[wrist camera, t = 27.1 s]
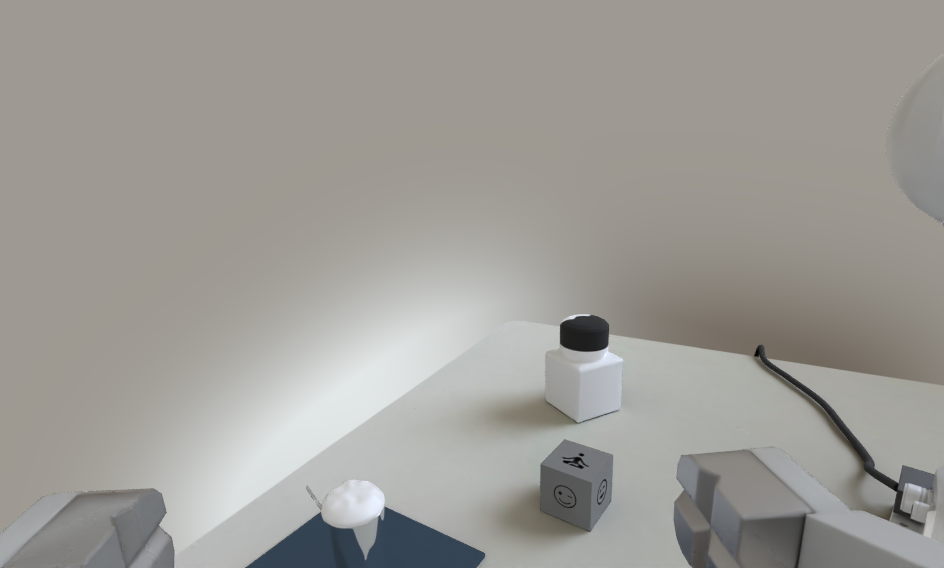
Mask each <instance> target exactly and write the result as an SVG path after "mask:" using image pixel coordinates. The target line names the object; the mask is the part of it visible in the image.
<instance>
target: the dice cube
mask: <svg viewBox="0 0 944 568" xmlns="http://www.w3.org/2000/svg"><path fill="white" fill-rule="evenodd" d="M612 472H613V455H612V454H609V453H606V452H603V451H599V450H596V449H593V448H590V447H587V446H584V445H581V444H578V443H575V442H572V441H568V440H565V439H564V441H563V442H562V443H561V444H560V445H559V446H558V447H557V448H556V449H555V450H554V451H553V452H552V453H551V454H550V455H549V456H548V457H547V458H546V459H545V460H544V461H543V462H542V463H541V481H540V511H542V512H545V513H547V514H550V515H552V516H554V517H557V518H559V519H562V520H564V521H566V522H569V523H571V524H573V525H576V526H578V527H581V528H583V529H585V530H588V531H591V530H592V528H593V527H594V525H595V524H596V522H597V521H598V519H599V518H600V516H601V515H602V513H603V512H604V511H605V509H606V508H607V506H608V505H609V503H610V502H611V494H612Z"/></svg>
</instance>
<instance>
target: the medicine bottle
mask: <svg viewBox="0 0 944 568" xmlns="http://www.w3.org/2000/svg"><path fill="white" fill-rule="evenodd" d="M608 340H609V324H608V323H607V322H606V321H605V320H604V319H602V318H600V317H597V316H594V315H586V314H580V315H572V316H569V317H567V318H565V319H563V320H562V322H561V323H560V349H556V350H552V351H548V352H546V370H545V399H546V401H547V402H549V403H550V404H552V405H553V406H554V407H556V408H557V409H559V410H560V411H562V412H563V413H564V414H566V415H567V416H569V417H570V418H572V419H573V420H574V421H576V422H577V423H579V422H582V421H585V420H589V419H592V418H595V417H598V416H601V415H604V414H607V413H610V412H613V411H617V410H619V409H620V408H621V392H622V371H623V359H622V358H620V357H618V356H616V355H614V354H611V353H609V352H608Z"/></svg>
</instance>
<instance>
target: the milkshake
mask: <svg viewBox="0 0 944 568" xmlns="http://www.w3.org/2000/svg"><path fill="white" fill-rule="evenodd" d="M306 489H307V491H308V492H309V494H310V495H311V497H312V498H313V500H314V501H315V502H316V504H317V505H318V507H319V508H320V510H321V514H322V518H323V523H324V527H325V531H326V535H327V539H328V543H329V546H330V551H331V556H332V561H333V565H334V568H384V507H385V499H384V495H383V493H382V491H381V490H380V489H379V488H378V487H376V486H375V485H374V484H372V483H371V482H369V481H365V480H347V481H345V482H344V483H342V484H341V485H340V486H338V487H336V488H334V489H333V490H331V491H330V492H329V493H328V494H327V496H326V497H325V499H324V500H323V503H322V506H321V504H320V503H319V501H318V500H317V498H316V497H315V495H314V494H313V493H312V491H311V490H310V488H309V487H308V486H306Z"/></svg>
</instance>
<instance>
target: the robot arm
mask: <svg viewBox="0 0 944 568" xmlns="http://www.w3.org/2000/svg"><path fill="white" fill-rule="evenodd" d="M886 156H887V162H888V166H889V169H890V172H891V175H892V177H893V179H894V181H895V183H896V185H897V186H898V188H899V189H900V190H901V192H902V193H903V194H904V195H905V196H906V197H907V199H908V200H909V201H910V202H911V203H913V204H914V205H915V206H916V207H917V208H919V209H920V210H922V211H923V212H925V213H926V214H928V215H929V216H931V217H932V218H934V219H935V220H936V221H937V222H938V223H940V224H941V225H942V226H943V227H944V53H943V54H942V55H940V56H939V57H938V58H937V59H935V60H934V61H933V62H932V63H931V64H930V65H928V66H927V67H926V68H925V69H924V70H923V71H922V72H921V73H920V74H919V75H918V76H917V77H916V78H915V79H914V80H913V82H912V83H911V84H910V85H909V87H908V88H907V89H906V90H905V92H904V94H903V95H902V97H901V98H900V100H899V101H898V104H897V105H896V108H895V110H894V112H893V114H892V117H891V119H890V122H889V126H888V130H887V137H886ZM759 355H760V358H761V360H762V362H763V363H764V364H765V365H767V366H768V367H769V368H770V369H772V370H773V371H775V372H776V373H778V374H779V375H781V376H782V377H784V378H785V379H787V380H788V381H789V382H791V383H792V384H793V385H795V386H796V387H798V388H799V389H801V390H802V391H803V392H805V393H806V394H808V395H809V396H810V397H812V398H813V399H814V400H815V401H816V402H817V403H819V404H820V405H821V406H822V407H823V408H824V409H825V411H826V412H827V413H828V414H829V415H830V417H831V418H832V419H833V421H834V422H835V423H836V425H837V426H838V427H839V429H840V430H841V431H842V433H843V434H844V435H845V436H846V438H847V439H848V440H849V441H850V442H851V444H852V445H853V446H854V447H855V449H856V450H857V451H858V453H859V454H860V455H861V457H862V458H863V460H864V461H865V464H864V469H865V471H866V472H867V473H869V474H870V475H871V476H872V477H874V478H875V479H877V480H878V481H880V482H882V483H883V484H885V485H886V486H888V487H890V488H891V489H893V490H894V491H896V492H897V494H896V499H895V504H894V507H893V510H892V513H891V516H890V520H889V521H887V520H885V519H883V518H880V517H878V516H875V515H873V514H870V513H868V512H866V511H863V510H860V511H852V510H851V509H850V508H848V507H847V506H846V505H845V504H844V503H843V502H841V501H840V500H839V499H838V498H837V497H836V496H835V495H833V494H832V493H831V492H830V491H829V490H828V489H826V488H825V487H824V486H823V485H822V484H821V483H820V482H818V481H817V480H816V479H815V478H814V477H813V476H812V475H810V474H809V473H808V472H807V471H806V470H805V469H803V468H802V467H801V466H800V465H799V464H798V463H797V462H795V461H794V460H793V459H792V458H791V457H790V456H788V455H787V454H786V453H785V452H784V451H783V450H781V449H778V448H775V447H763V448H753V449H743V450H738V451H726V452H714V453H702V454H690V455H681V458H680V460H679V462H678V467H677V477H676V478H677V480H678V481H679V482H680V484H681V485H682V487H683V488H684V489H685V490H684V491H683V492H682V494H681V495H680V496H679V497H678V498H677V500H676V501H675V502H674V525H675V531H676V536H677V540H678V543H679V545H680V548H681V550H682V553H683V555H684V556H685V558H686V560H687V561H688V563H689V565H690V566H691V567H693V568H944V466H941V467H939V468H937V469H936V472H935V475H934V474H931V473H927V472H924V471H921V470H917V469H914V468H911V467H907V466H904V465H903V466H902V470H901V475H900V480H899V483H897V482H895V481H894V480H892V479H890V478H889V477H887V476H885V475H884V474H882V473H880V472H879V471H877V470H876V469H875V468H874V466H875V464H874V461H873V459H872V458H871V456H870V455H869V453H868V452H867V451H866V449H865V448H864V447H863V446H862V444H861V443H860V442H859V441H858V440H857V438H856V437H855V436H854V435H853V434H852V432H851V431H850V430H849V429H848V428H847V426H846V425H845V424H844V423H843V421H842V420H841V419H840V417H839V416H838V415H837V414H836V412H835V411H834V410H833V409H832V408H831V407H830V406H829V405H828V404H827V403H826V402H825V401H824V400H823V399H822V398H821V397H820V396H818V395H817V394H816V393H814V392H813V391H812V390H810V389H809V388H807V387H806V386H804V385H803V384H801V383H800V382H799V381H797V380H796V379H794V378H793V377H791V376H790V375H789V374H787V373H786V372H784V371H782V370H781V369H779V368H778V367H776V366H775V365H773V364H772V363H771V362H770V361H769V360H768V359H767V358H766V357H765V351H764V346H763V345H759V346H758V347H757V349H756V351H755V354H754V357H759ZM165 514H166V508H165V505H164V501H163V497H162V494H161V493H160V492H158V491H157V490H155V489H153V488H151V489H131V490H130V489H129V490H105V491H88V492H67V493H54V494H50V495H47V496H43V497H41V498H40V499H39V500H37V501H36V502H35V503H34V504H33V505H32V506H31V507H30V508H28V509H27V510H26V511H25V512H24V513H23V514H21V515H20V516H19V517H18V518H17V519H16V520H15V521H14V522H12V523H11V524H10V525H9V526H8V527H7V528H5V529H4V530H3V531H2V532H1V533H0V568H174V546H173V541H172V537H171V536H170V535H169V534H167V533H166V532H165V531H164V530H163V529H162V528H161V527H160V526H159V524H160V522H161V521H162V519H163V517H164V516H165Z"/></svg>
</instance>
